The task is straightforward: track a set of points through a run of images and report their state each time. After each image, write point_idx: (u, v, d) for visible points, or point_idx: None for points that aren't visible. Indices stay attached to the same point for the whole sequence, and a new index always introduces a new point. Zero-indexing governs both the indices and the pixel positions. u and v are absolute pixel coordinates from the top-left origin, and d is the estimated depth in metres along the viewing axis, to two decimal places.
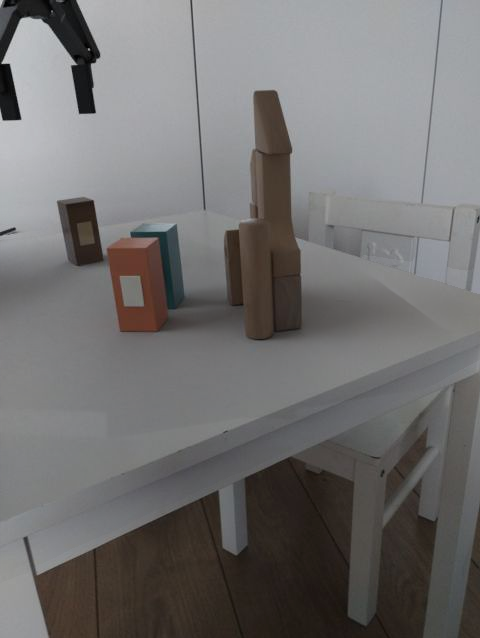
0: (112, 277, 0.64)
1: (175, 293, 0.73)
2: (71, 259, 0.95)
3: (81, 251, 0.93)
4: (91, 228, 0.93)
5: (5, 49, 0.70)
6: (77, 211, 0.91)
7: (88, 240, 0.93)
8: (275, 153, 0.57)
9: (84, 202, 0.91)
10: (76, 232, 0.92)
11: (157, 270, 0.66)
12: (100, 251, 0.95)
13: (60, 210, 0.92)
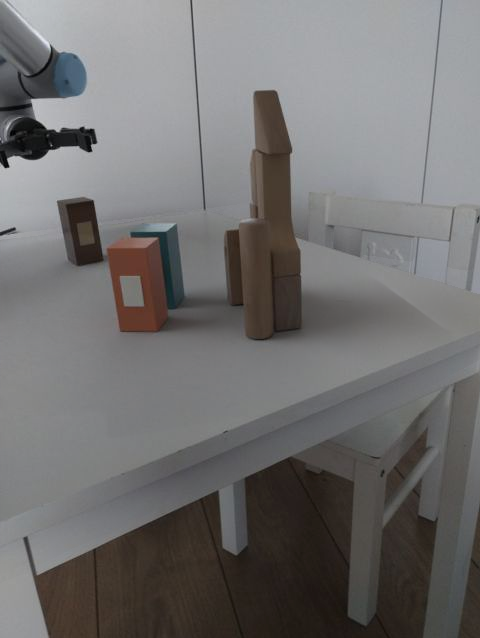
0: (112, 277, 0.64)
1: (175, 293, 0.73)
2: (71, 259, 0.95)
3: (81, 251, 0.93)
4: (91, 228, 0.93)
5: None
6: (77, 211, 0.91)
7: (88, 240, 0.93)
8: (275, 153, 0.57)
9: (84, 202, 0.91)
10: (76, 232, 0.92)
11: (157, 270, 0.66)
12: (100, 251, 0.95)
13: (60, 210, 0.92)
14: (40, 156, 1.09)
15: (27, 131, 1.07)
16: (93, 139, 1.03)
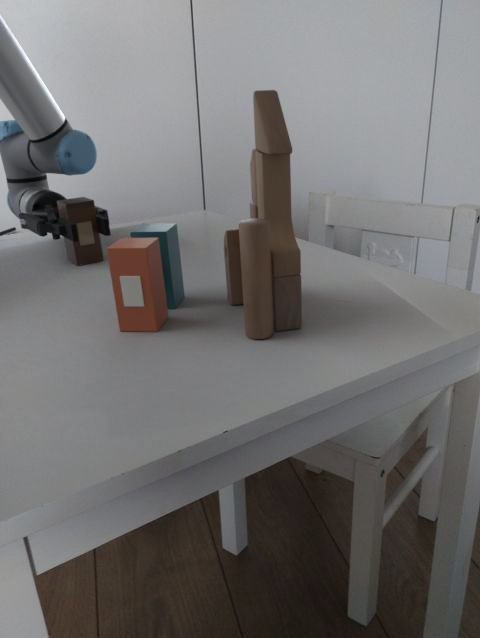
0: (112, 277, 0.64)
1: (175, 293, 0.73)
2: (71, 259, 0.95)
3: (81, 251, 0.93)
4: (91, 228, 0.93)
5: None
6: (77, 211, 0.91)
7: (88, 240, 0.93)
8: (275, 153, 0.57)
9: (84, 202, 0.91)
10: None
11: (157, 270, 0.66)
12: (100, 251, 0.95)
13: (60, 210, 0.92)
14: None
15: (50, 204, 1.04)
16: None
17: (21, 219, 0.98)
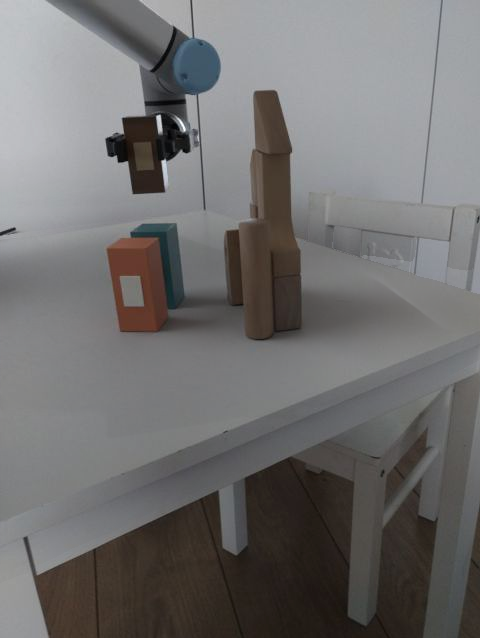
0: (112, 277, 0.64)
1: (175, 293, 0.73)
2: None
3: (138, 177, 0.79)
4: (151, 151, 0.78)
5: None
6: (135, 128, 0.76)
7: (147, 164, 0.78)
8: (275, 153, 0.57)
9: (144, 117, 0.76)
10: (132, 153, 0.78)
11: (157, 270, 0.66)
12: (161, 181, 0.79)
13: None
14: (166, 158, 0.94)
15: None
16: (184, 147, 0.81)
17: None
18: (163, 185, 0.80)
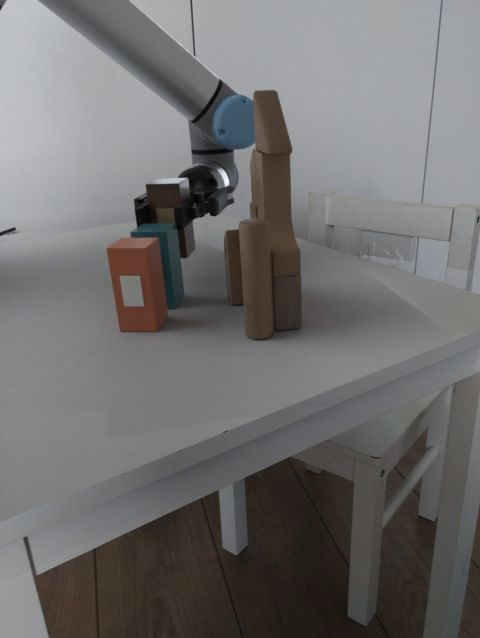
0: (112, 277, 0.64)
1: (175, 293, 0.73)
2: None
3: None
4: (174, 217, 0.76)
5: None
6: (158, 194, 0.75)
7: None
8: (275, 153, 0.57)
9: (167, 184, 0.74)
10: (155, 219, 0.76)
11: (157, 270, 0.66)
12: (183, 246, 0.77)
13: None
14: None
15: (194, 182, 0.90)
16: (211, 210, 0.79)
17: None
18: (185, 251, 0.78)
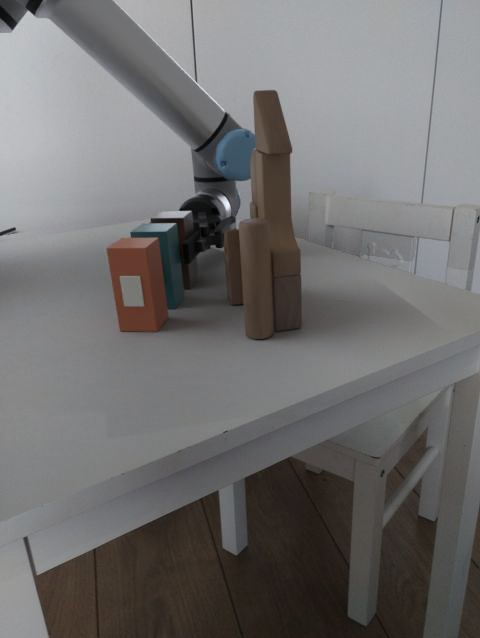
0: (112, 277, 0.64)
1: (175, 293, 0.73)
2: None
3: None
4: None
5: None
6: None
7: None
8: (275, 153, 0.57)
9: (171, 219, 0.76)
10: None
11: (157, 270, 0.66)
12: (187, 278, 0.79)
13: None
14: None
15: (197, 211, 0.92)
16: (217, 243, 0.81)
17: None
18: (189, 282, 0.80)
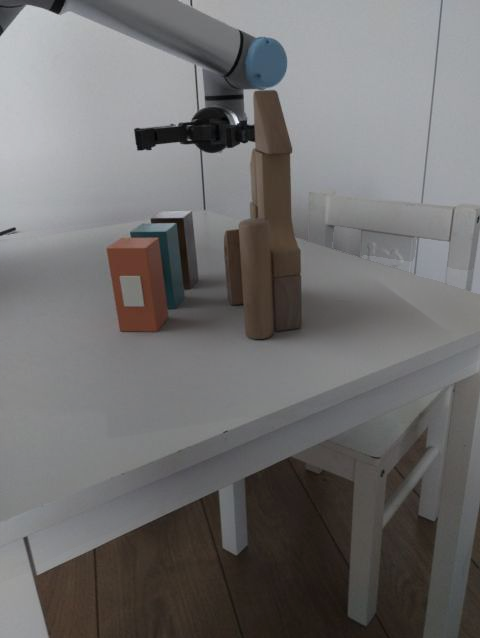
0: (112, 277, 0.64)
1: (175, 293, 0.73)
2: None
3: None
4: None
5: None
6: None
7: None
8: (275, 153, 0.57)
9: (171, 219, 0.76)
10: None
11: (157, 270, 0.66)
12: (187, 278, 0.79)
13: None
14: (216, 150, 1.00)
15: (208, 121, 0.98)
16: (254, 136, 0.88)
17: None
18: (189, 282, 0.80)
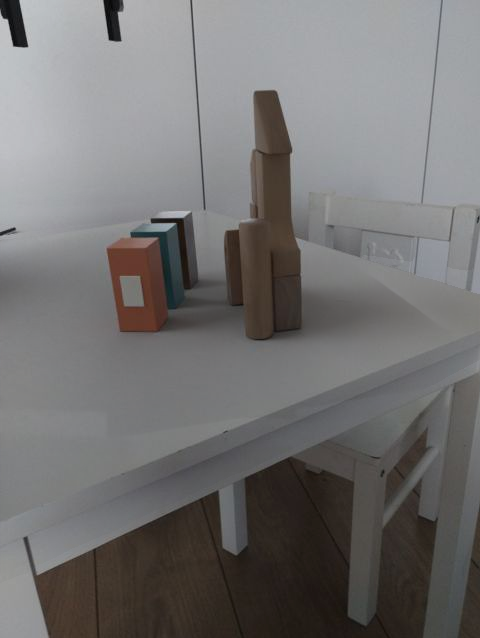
0: (112, 277, 0.64)
1: (175, 293, 0.73)
2: None
3: None
4: None
5: None
6: None
7: None
8: (275, 153, 0.57)
9: (171, 219, 0.76)
10: None
11: (157, 270, 0.66)
12: (187, 278, 0.79)
13: None
14: None
15: None
16: None
17: None
18: (189, 282, 0.80)
